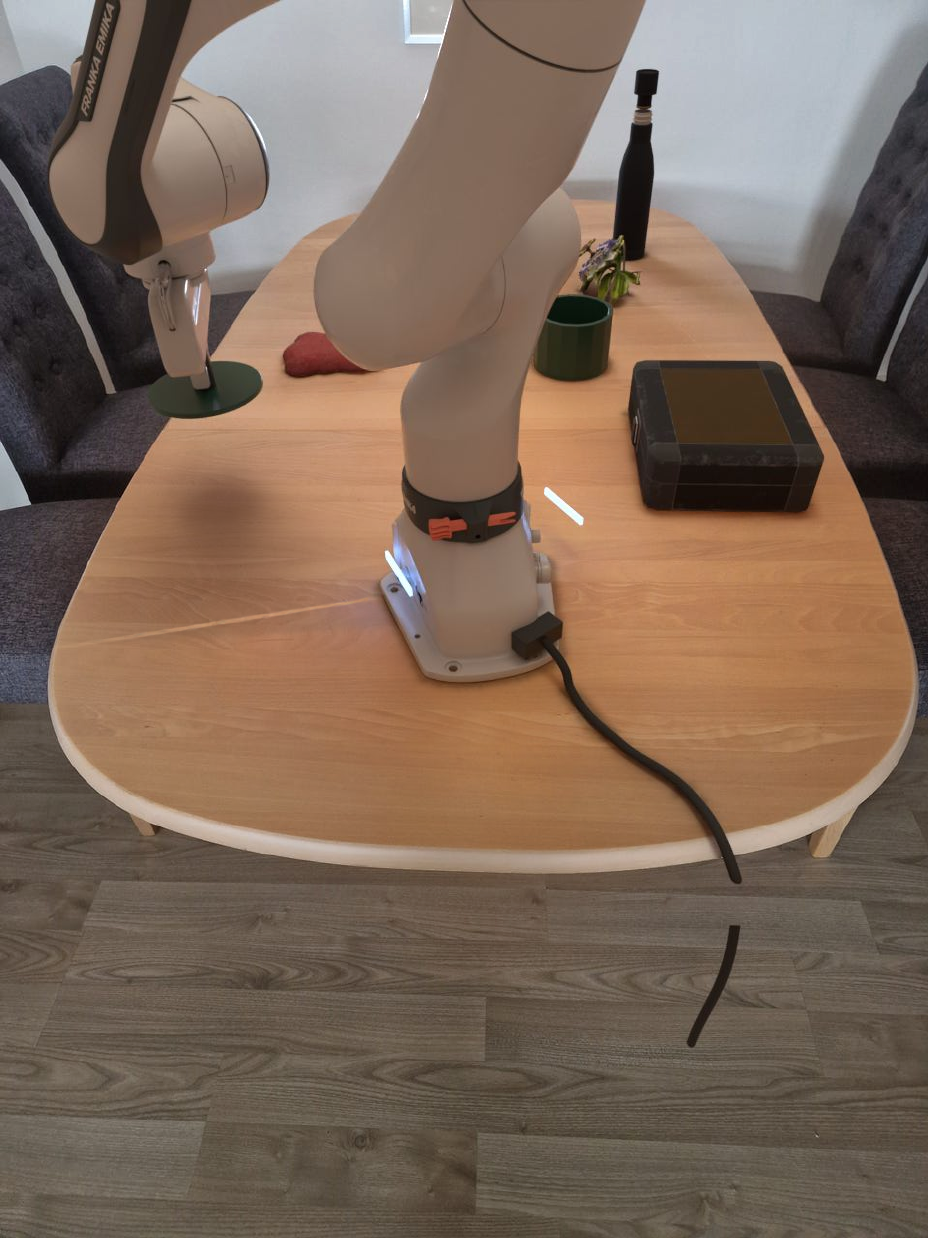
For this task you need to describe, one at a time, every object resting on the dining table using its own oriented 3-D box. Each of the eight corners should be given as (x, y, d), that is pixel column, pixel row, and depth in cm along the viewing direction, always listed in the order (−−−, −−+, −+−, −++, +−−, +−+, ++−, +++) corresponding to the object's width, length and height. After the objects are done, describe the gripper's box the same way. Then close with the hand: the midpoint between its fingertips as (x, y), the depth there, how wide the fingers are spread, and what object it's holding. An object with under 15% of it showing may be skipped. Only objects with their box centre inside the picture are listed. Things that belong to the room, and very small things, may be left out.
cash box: (621, 408, 115) (628, 357, 109) (767, 409, 113) (781, 357, 108) (637, 513, 97) (646, 458, 91) (811, 516, 95) (830, 460, 90)
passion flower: (583, 320, 149) (576, 252, 147) (643, 310, 146) (637, 240, 145) (579, 307, 138) (572, 233, 136) (644, 296, 135) (637, 220, 134)
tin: (617, 376, 122) (624, 321, 116) (544, 385, 120) (547, 330, 114) (594, 343, 130) (598, 290, 124) (525, 351, 128) (526, 298, 122)
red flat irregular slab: (278, 378, 124) (276, 366, 123) (288, 339, 134) (286, 327, 133) (392, 373, 124) (391, 360, 123) (393, 333, 134) (392, 322, 133)
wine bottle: (646, 259, 155) (670, 74, 134) (613, 260, 155) (631, 75, 134) (641, 247, 159) (663, 66, 139) (609, 248, 159) (626, 67, 139)
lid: (265, 415, 86) (254, 369, 82) (145, 431, 84) (129, 385, 81) (263, 364, 95) (253, 320, 91) (155, 377, 93) (141, 334, 90)
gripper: (194, 280, 72) (231, 420, 81) (202, 211, 86) (233, 336, 96) (121, 288, 71) (167, 428, 80) (142, 217, 86) (179, 342, 95)
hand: (203, 377), depth 88 cm, fingers closed on lid, 2 cm apart
